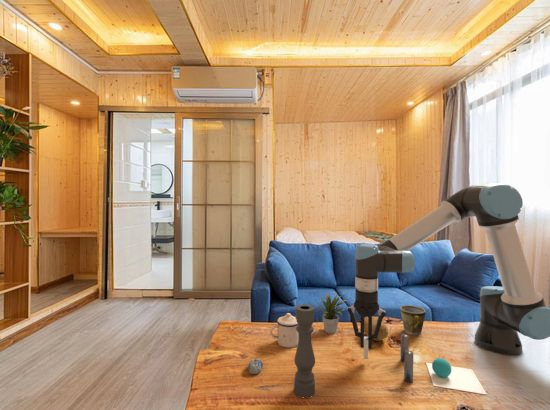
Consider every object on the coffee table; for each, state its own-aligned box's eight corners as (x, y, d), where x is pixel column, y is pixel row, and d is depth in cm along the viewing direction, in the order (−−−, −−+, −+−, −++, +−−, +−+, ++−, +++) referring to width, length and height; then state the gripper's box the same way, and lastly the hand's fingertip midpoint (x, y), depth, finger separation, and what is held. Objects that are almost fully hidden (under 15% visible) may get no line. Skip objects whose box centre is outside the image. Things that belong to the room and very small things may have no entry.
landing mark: (471, 369, 103) (471, 369, 103) (486, 395, 89) (486, 394, 89) (425, 363, 107) (425, 362, 107) (433, 386, 93) (433, 385, 93)
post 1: (408, 359, 109) (408, 334, 109) (408, 363, 107) (409, 337, 107) (400, 358, 110) (400, 333, 110) (400, 362, 107) (401, 336, 107)
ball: (430, 353, 102) (430, 370, 102) (433, 362, 97) (433, 379, 97) (449, 356, 101) (449, 372, 101) (453, 364, 95) (453, 382, 95)
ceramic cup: (397, 326, 138) (397, 304, 138) (420, 327, 137) (421, 305, 137) (405, 339, 125) (405, 315, 125) (431, 341, 124) (431, 316, 124)
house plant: (340, 342, 122) (340, 301, 122) (308, 334, 129) (309, 296, 129) (351, 330, 134) (351, 292, 134) (322, 323, 141) (322, 288, 141)
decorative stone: (248, 359, 106) (261, 354, 105) (253, 372, 105) (266, 367, 104) (242, 365, 100) (256, 360, 99) (247, 378, 99) (261, 373, 98)
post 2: (412, 379, 97) (412, 350, 97) (413, 383, 95) (413, 354, 95) (403, 377, 98) (403, 349, 98) (404, 382, 95) (404, 353, 95)
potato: (378, 330, 134) (379, 312, 134) (393, 345, 120) (394, 325, 120) (357, 331, 133) (357, 313, 133) (369, 346, 119) (369, 326, 119)
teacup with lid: (295, 336, 127) (296, 308, 127) (302, 346, 118) (303, 317, 118) (267, 339, 124) (267, 311, 124) (272, 350, 116) (272, 319, 115)
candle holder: (292, 385, 93) (293, 304, 93) (312, 384, 94) (313, 303, 93) (295, 398, 87) (296, 311, 87) (317, 397, 88) (317, 311, 87)
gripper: (346, 290, 104) (345, 359, 105) (387, 294, 100) (386, 365, 101) (348, 284, 111) (347, 349, 112) (386, 288, 108) (385, 354, 108)
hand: (365, 356), depth 106 cm, fingers closed
